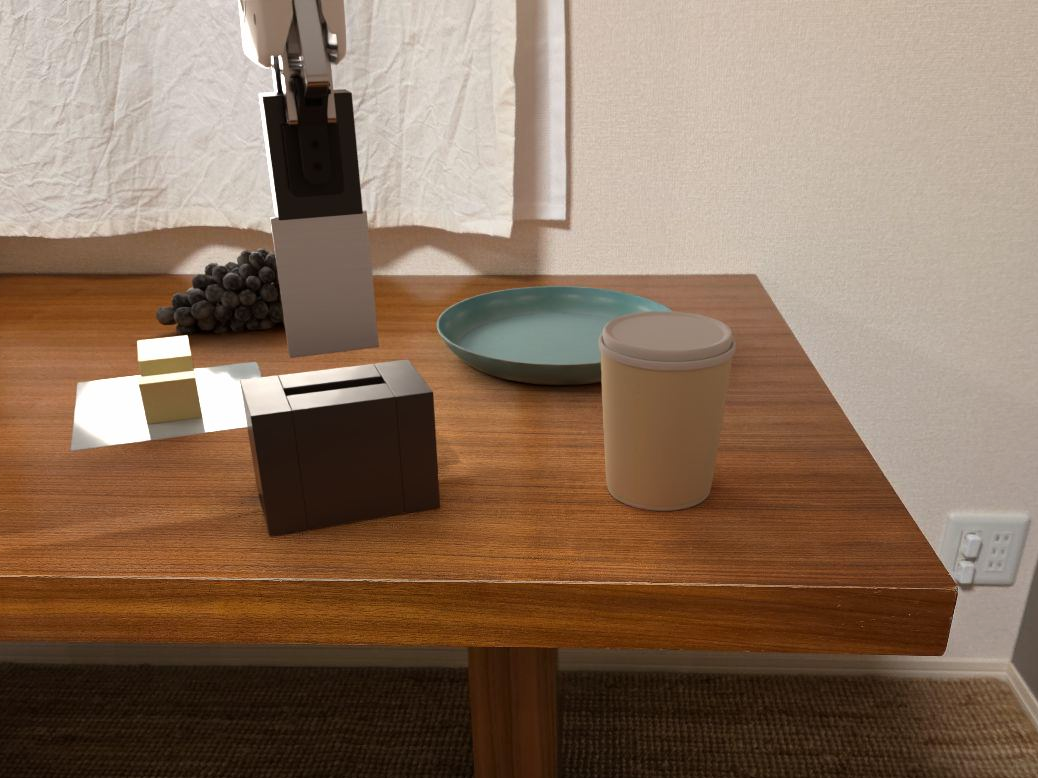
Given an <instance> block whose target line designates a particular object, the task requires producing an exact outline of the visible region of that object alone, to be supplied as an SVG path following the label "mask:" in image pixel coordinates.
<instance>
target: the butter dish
mask: <svg viewBox="0 0 1038 778" xmlns="http://www.w3.org/2000/svg"><path fill="white" fill-rule="evenodd" d="M194 372H195V377H196V383H197V388H198V395H199V401H200V406H201V412H202V417H200V418H192V419H185V420H177V421H170V422H162V423H154V424H147V422H146V417H145V413H144V408H143V403H142V399H141V394H140V389H139V383H138V378H139V377H141V374H139V375H131V376H122V377H121V376H120V377H114V378H106V379H105V378H104V379H98V380H89V381H88V380H87V381H80V382H77V383H76V392H75V401H74V410H73V422H72V430H71V441H70V452H76V451H84V450H92V449H98V448H106V447H113V446H114V447H115V446H120V445H128V444H136V443H143V442H149V441H158V440H164V439H171V438H172V439H173V438H180V437H187V436H195V435H201V434H211V433H216V432H223V431H231V430H237V429H238V430H239V429H247V422H246V416H245V410H244V404H243V397H242V391H241V385H240V380H244V379H252V378H260V377H263V374H262V372H261V369H260V367H259V363H258V362H257V361H249V362H241V363H232V364H225V365H214V366H208V367H197V368H194Z"/></svg>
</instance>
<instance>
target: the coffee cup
mask: <svg viewBox="0 0 1038 778" xmlns="http://www.w3.org/2000/svg"><path fill="white" fill-rule="evenodd" d="M736 347H737V343H736V339H735V337H734V336H733V331H732V330H731V328H730V327H729V326H728V325H727V324H726V323H724V322H722V321H720V320H718V319H717V318H713V317H710V316H706V315H703V314H697V313H691V312H685V311H673V310H672V311H652V312H640V313H633V314H628V315H624V316H621V317H618V318H615V319H613V320H611V321H610V322H608V323H607V324H606V325H605V327H604V329H603V333H602V334H601V335H600V337H599V349H600V351H601V379H602V382H601V397H602V398H601V403H602V405H601V406H602V422H603V423H602V425H603V426H602V427H603V446H604V447H603V448H604V466H605V482H606V488H607V490H608V492H609V494H610V495H611V496H612V497H613V498H614V499H615V500H617V501H618V502H620V503H622V504H625V505H626V506H629V507H633V508H636V509H640V510H644V511H645V510H646V511H653V512H654V511H656V512H657V511H658V512H670V511H679V510H685V509H689V508H692V507H695V506H697V505H699V504H701V503H703V502H704V501H705V500H706V499H707V498H708V497H709V495H710V494H711V490H712V485H713V481H714V475H715V469H716V463H717V458H718V457H717V456H718V451H719V446H720V440H721V439H720V438H721V433H722V426H723V421H724V420H723V419H724V415H725V409H726V402H727V394H728V390H729V389H728V388H729V383H730V378H731V369H732V363H733V356H734V355H735V352H736V349H737V348H736Z"/></svg>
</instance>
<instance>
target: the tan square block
mask: <svg viewBox="0 0 1038 778" xmlns="http://www.w3.org/2000/svg"><path fill="white" fill-rule="evenodd" d="M138 383H139V389H140V394H141V399H142V403H143V408H144V413H145V417H146V422H147V424H154V423H162V422H170V421H177V420H185V419H192V418H200V417H202V412H201V406H200V401H199V395H198V390H197V384H196V379H195V374H194V371H188V372H180V373H171V374H163V375H154V376H146V377H139V378H138Z"/></svg>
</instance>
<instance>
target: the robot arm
mask: <svg viewBox="0 0 1038 778" xmlns="http://www.w3.org/2000/svg"><path fill="white" fill-rule="evenodd" d="M237 3H238V11H239V21H240V32H241V42H242V49H243V53H244V55H245V56H246V57H247V58H248V59H250V60H251V61H252V62H254V63H255V64H256V65H258V66H259V67H261V68H263V69H271V70H272V71H271V72H272V80H273V89H274V92H283V95H284V103H285V111H286V119H287V124H288V125H283V126H282V127H283V135H284V143H285V151H286V159H287V167H288V175H289V183H290V190H291V193H292V194H293V195H294V196H295V197H311V196H324V195H338V194H341V193H343V191H344V188H345V186H344V176H343V166H342V156H341V146H340V136H339V126H338V123H336V110H335V100H334V91H333V90H334V80H333V70H332V66H334V67H335V66H336V67H337V66H338V65H339V64H341V62H342V61H344V59H345V58H346V55H347V28H346V27H347V26H346V25H347V24H346V11H345V10H346V9H345V0H237Z"/></svg>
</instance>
